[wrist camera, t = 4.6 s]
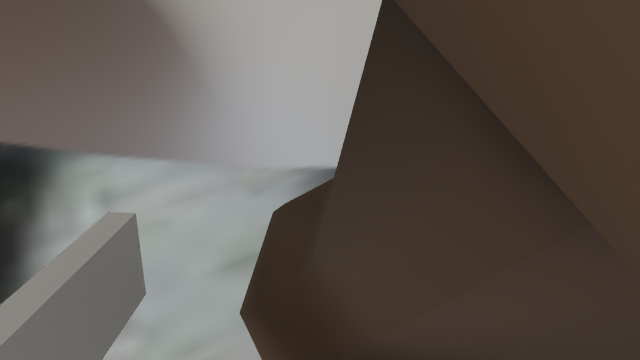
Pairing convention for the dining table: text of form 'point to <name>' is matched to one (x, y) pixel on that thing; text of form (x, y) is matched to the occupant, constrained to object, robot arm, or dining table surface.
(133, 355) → the dining table surface
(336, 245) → the beer bottle
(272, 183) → the dining table surface
